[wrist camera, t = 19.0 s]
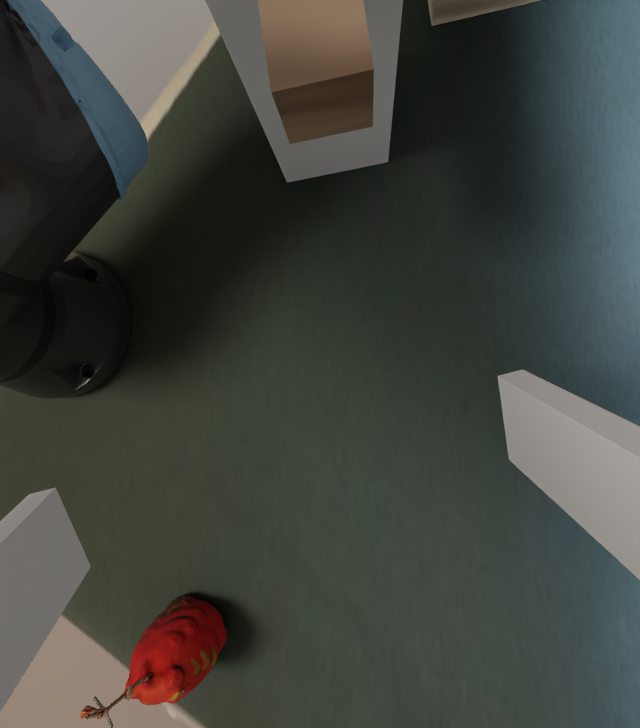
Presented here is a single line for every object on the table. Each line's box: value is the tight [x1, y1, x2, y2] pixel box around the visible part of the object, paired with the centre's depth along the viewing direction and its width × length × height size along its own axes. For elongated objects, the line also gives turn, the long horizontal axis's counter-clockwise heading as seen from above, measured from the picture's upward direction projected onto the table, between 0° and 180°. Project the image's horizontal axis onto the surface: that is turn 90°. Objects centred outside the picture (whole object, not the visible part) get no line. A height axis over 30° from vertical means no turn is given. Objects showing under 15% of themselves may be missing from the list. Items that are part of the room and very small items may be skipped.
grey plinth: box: [206, 0, 403, 183], centre depth 32 cm, size 10×10×22 cm
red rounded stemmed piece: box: [81, 595, 228, 728], centre depth 37 cm, size 8×7×15 cm
